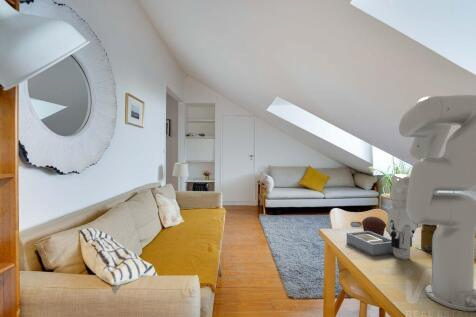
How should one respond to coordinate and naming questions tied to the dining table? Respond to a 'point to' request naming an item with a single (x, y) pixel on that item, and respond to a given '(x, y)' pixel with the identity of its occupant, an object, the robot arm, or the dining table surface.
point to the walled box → (370, 243)
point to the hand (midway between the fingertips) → (401, 246)
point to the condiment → (427, 237)
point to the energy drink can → (403, 243)
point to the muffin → (374, 225)
